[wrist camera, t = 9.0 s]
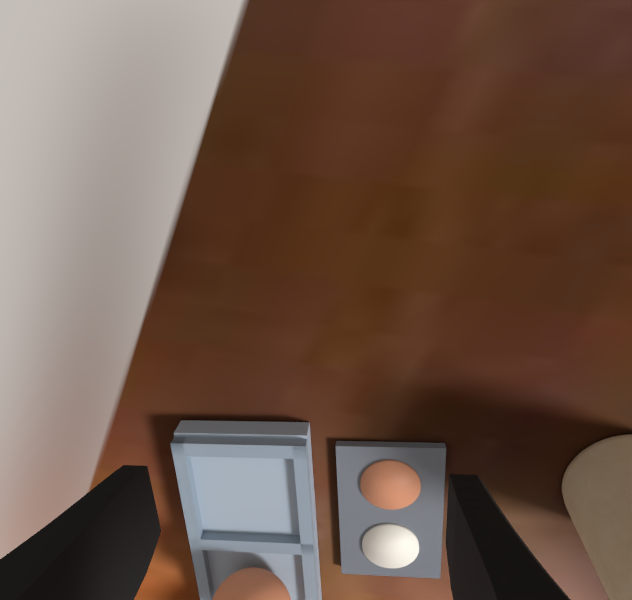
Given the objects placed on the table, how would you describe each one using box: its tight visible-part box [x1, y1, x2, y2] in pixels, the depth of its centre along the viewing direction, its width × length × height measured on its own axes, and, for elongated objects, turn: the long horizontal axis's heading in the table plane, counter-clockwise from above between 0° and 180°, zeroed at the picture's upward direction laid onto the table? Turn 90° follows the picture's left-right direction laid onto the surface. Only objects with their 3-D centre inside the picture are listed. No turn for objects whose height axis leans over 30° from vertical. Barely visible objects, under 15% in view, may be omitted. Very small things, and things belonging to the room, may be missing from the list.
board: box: [170, 420, 322, 600], centre depth 27 cm, size 6×20×2 cm, turn 3°
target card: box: [336, 441, 446, 579], centre depth 25 cm, size 5×8×1 cm, turn 3°
